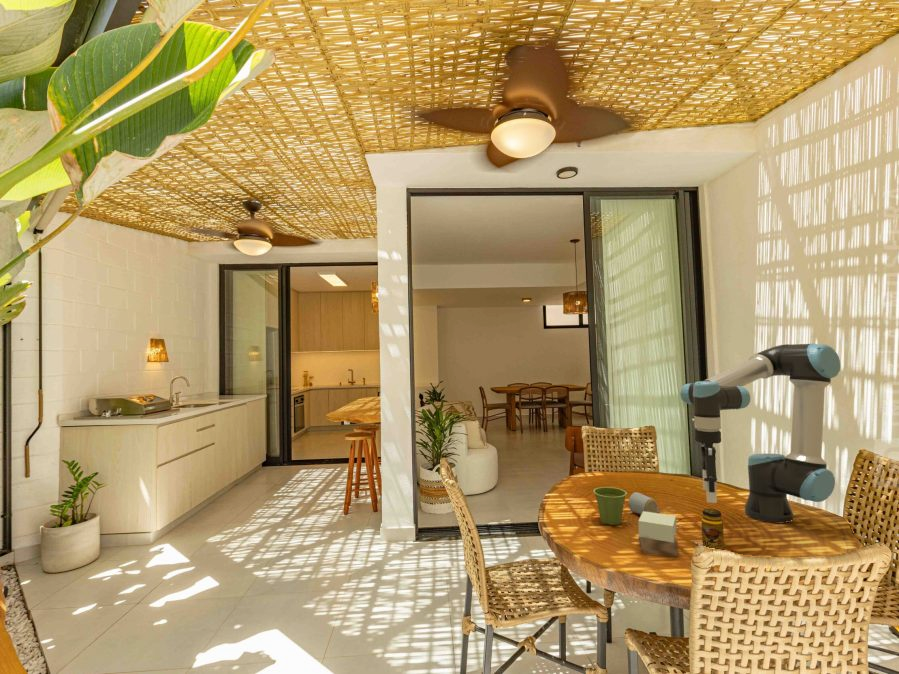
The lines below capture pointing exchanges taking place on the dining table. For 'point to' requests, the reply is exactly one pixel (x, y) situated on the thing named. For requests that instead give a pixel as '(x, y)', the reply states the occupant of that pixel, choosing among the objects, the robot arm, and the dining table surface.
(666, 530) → the sage block
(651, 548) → the walnut block
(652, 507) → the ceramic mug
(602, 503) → the plant pot
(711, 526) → the condiment
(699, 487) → the dining table surface
